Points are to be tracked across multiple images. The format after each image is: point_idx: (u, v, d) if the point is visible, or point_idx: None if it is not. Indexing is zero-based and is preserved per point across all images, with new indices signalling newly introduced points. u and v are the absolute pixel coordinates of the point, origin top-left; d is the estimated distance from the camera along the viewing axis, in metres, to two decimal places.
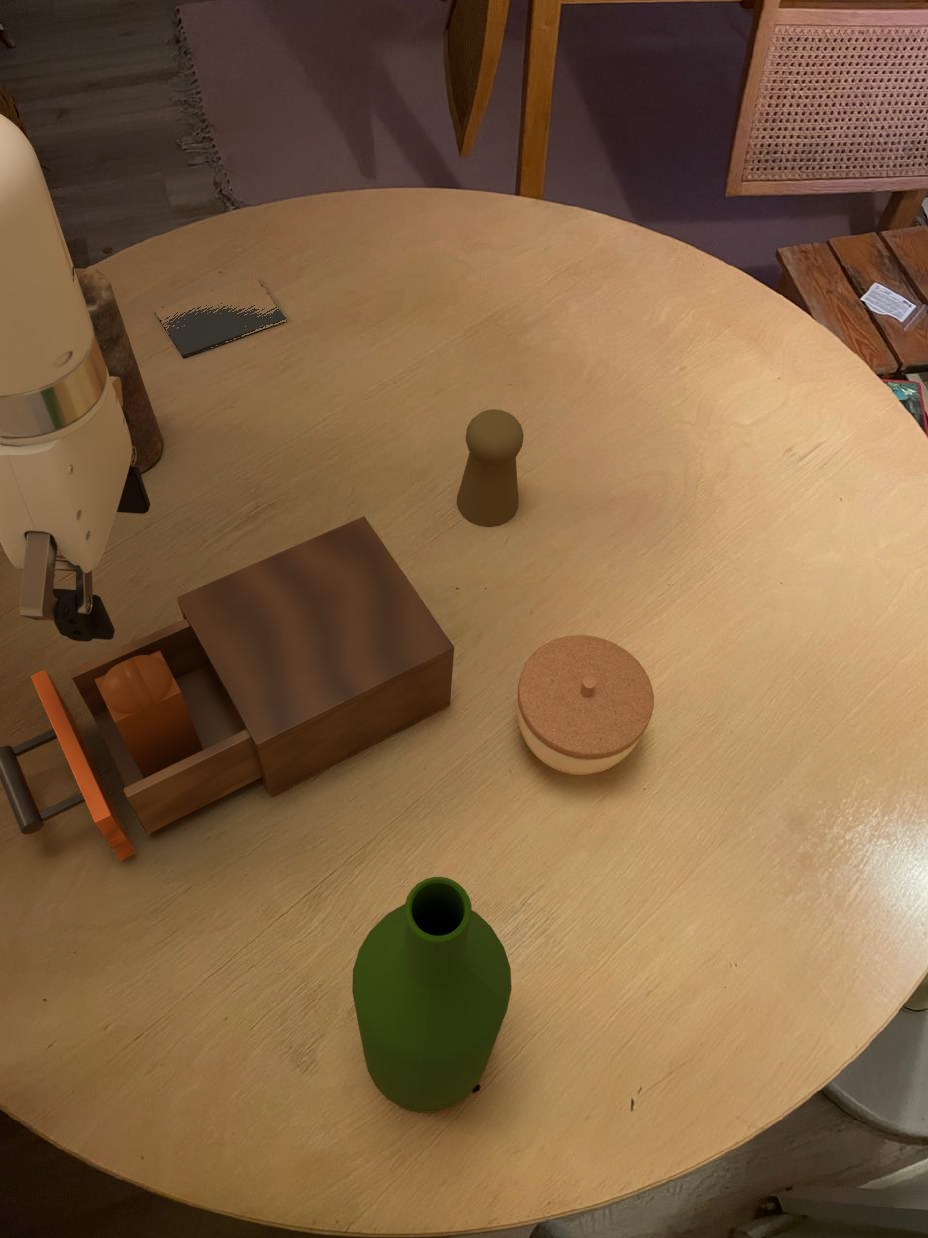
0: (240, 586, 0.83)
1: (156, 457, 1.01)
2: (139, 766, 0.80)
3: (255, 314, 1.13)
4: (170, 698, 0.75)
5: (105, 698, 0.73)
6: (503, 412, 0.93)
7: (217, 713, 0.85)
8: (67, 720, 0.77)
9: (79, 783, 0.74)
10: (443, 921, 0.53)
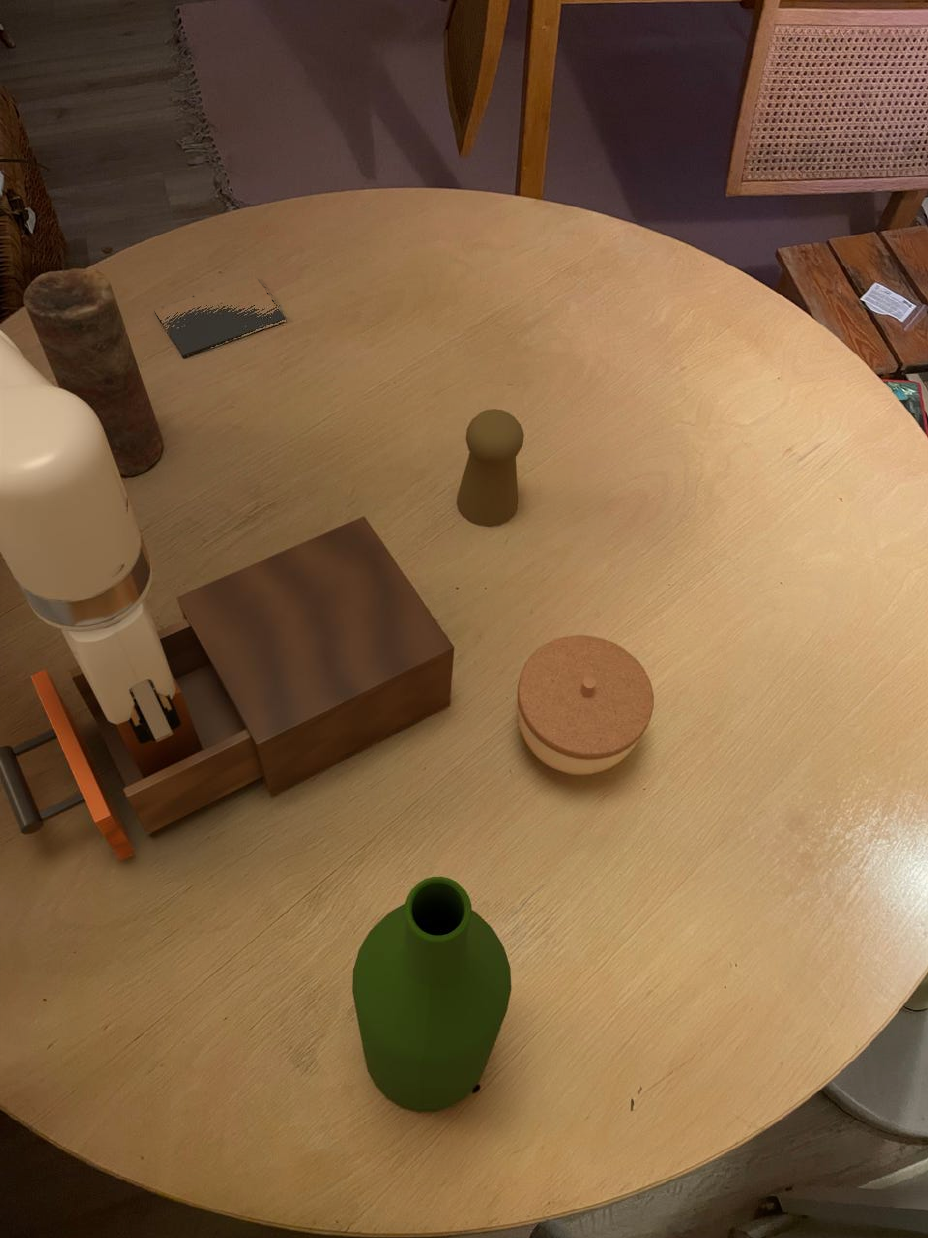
0: (240, 586, 0.83)
1: (156, 457, 1.01)
2: (139, 766, 0.80)
3: (255, 314, 1.13)
4: None
5: None
6: (503, 412, 0.93)
7: (217, 713, 0.85)
8: (67, 720, 0.77)
9: (79, 783, 0.74)
10: (443, 921, 0.53)
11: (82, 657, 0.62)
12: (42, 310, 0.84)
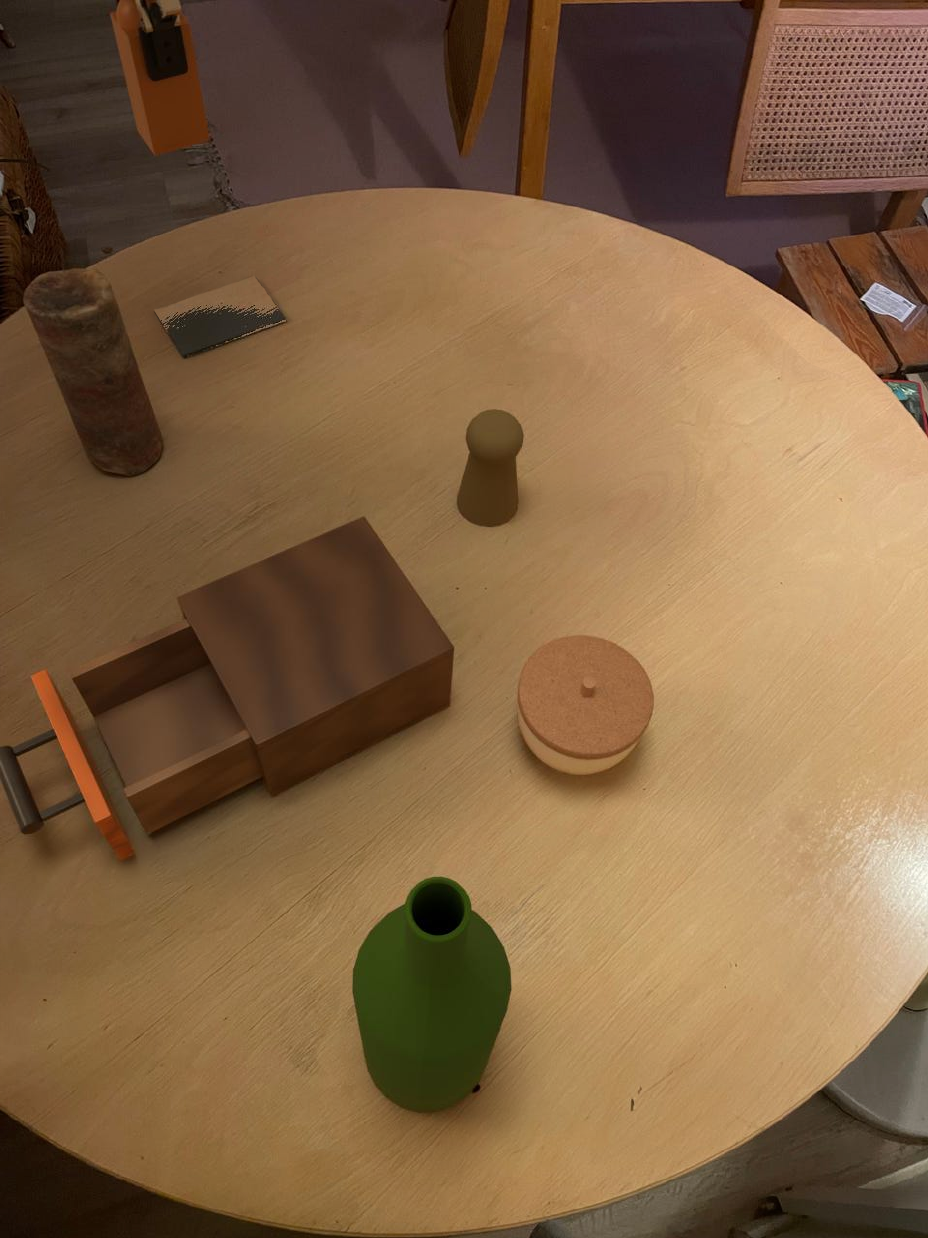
0: (240, 586, 0.83)
1: (156, 457, 1.01)
2: (150, 129, 0.86)
3: (255, 314, 1.13)
4: None
5: (119, 17, 0.80)
6: (503, 412, 0.93)
7: (217, 713, 0.85)
8: (67, 720, 0.77)
9: (79, 783, 0.74)
10: (443, 921, 0.53)
11: None
12: (42, 310, 0.84)
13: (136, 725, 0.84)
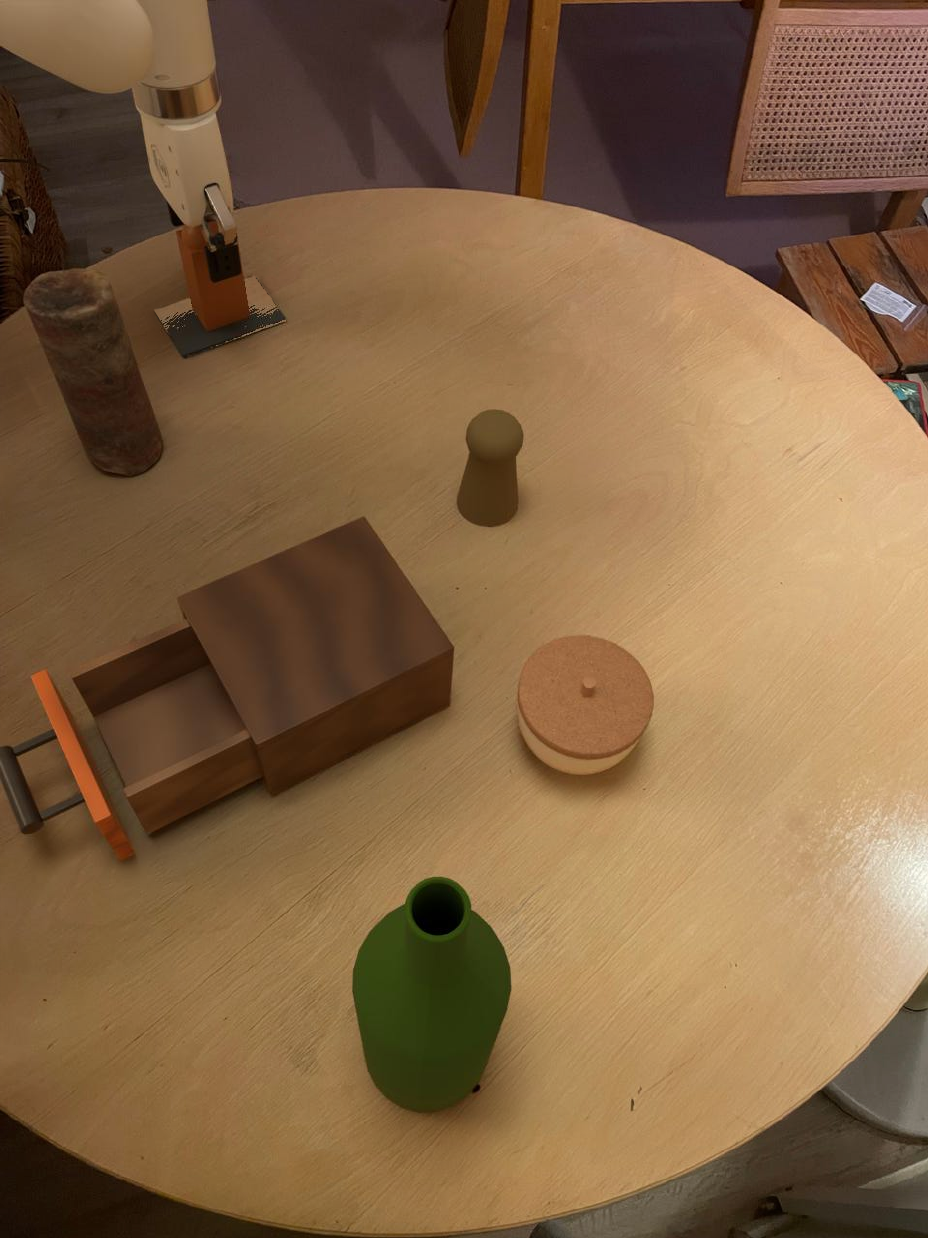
0: (240, 586, 0.83)
1: (156, 457, 1.01)
2: (204, 314, 1.09)
3: (255, 314, 1.13)
4: None
5: (184, 238, 1.03)
6: (503, 412, 0.93)
7: (217, 713, 0.85)
8: (67, 720, 0.77)
9: (79, 783, 0.74)
10: (443, 921, 0.53)
11: (174, 146, 0.91)
12: (42, 310, 0.84)
13: (136, 725, 0.84)
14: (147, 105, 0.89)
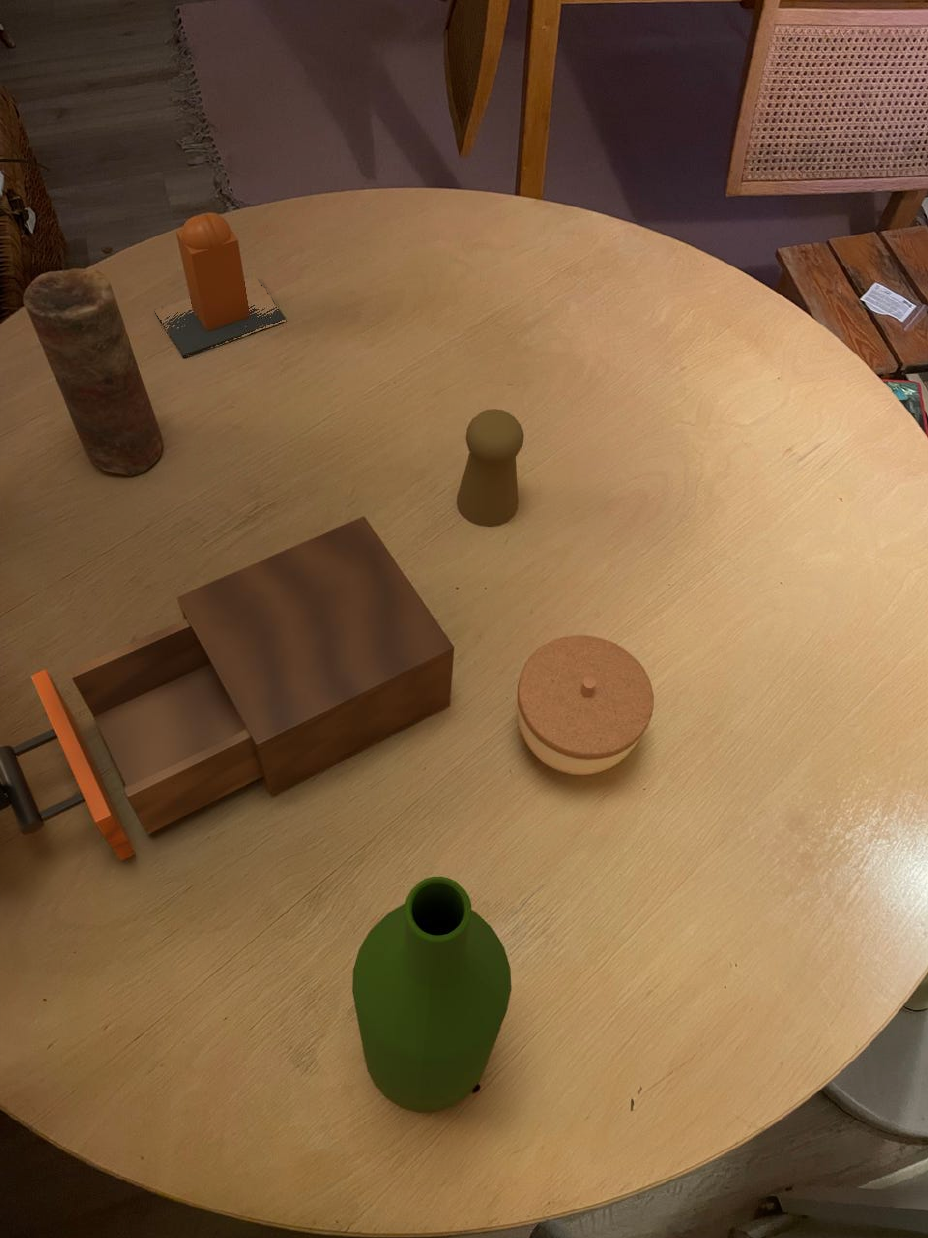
0: (240, 586, 0.83)
1: (156, 457, 1.01)
2: (204, 314, 1.09)
3: (255, 314, 1.13)
4: (230, 244, 1.04)
5: (184, 238, 1.03)
6: (503, 412, 0.93)
7: (217, 713, 0.85)
8: (67, 720, 0.77)
9: (79, 783, 0.74)
10: (443, 921, 0.53)
11: None
12: (42, 310, 0.84)
13: (136, 725, 0.84)
14: None
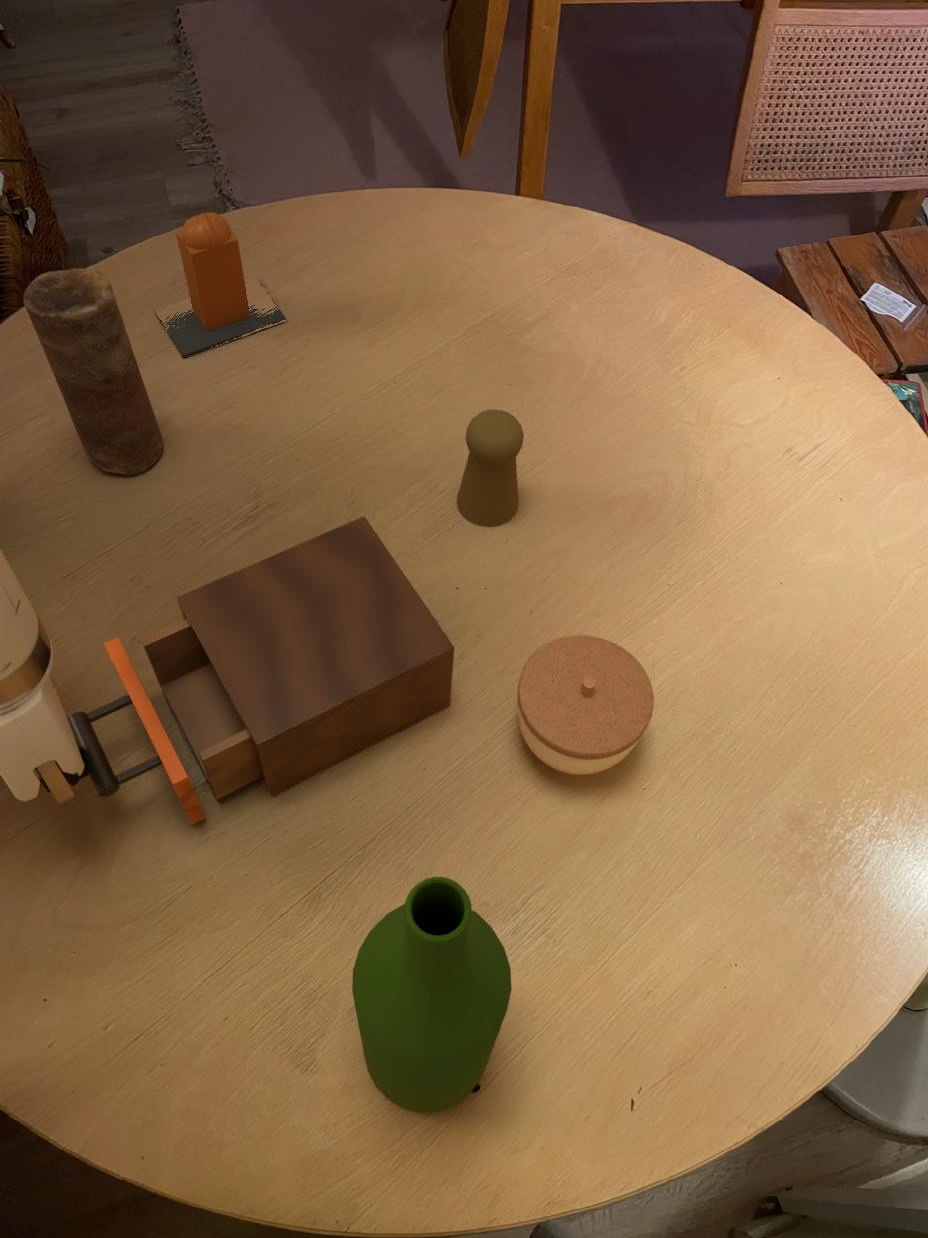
0: (240, 586, 0.83)
1: (156, 457, 1.01)
2: (204, 314, 1.09)
3: (255, 314, 1.13)
4: (230, 244, 1.04)
5: (184, 238, 1.03)
6: (503, 412, 0.93)
7: None
8: (141, 686, 0.79)
9: (156, 746, 0.76)
10: (443, 921, 0.53)
11: None
12: (42, 310, 0.84)
13: (203, 694, 0.86)
14: None
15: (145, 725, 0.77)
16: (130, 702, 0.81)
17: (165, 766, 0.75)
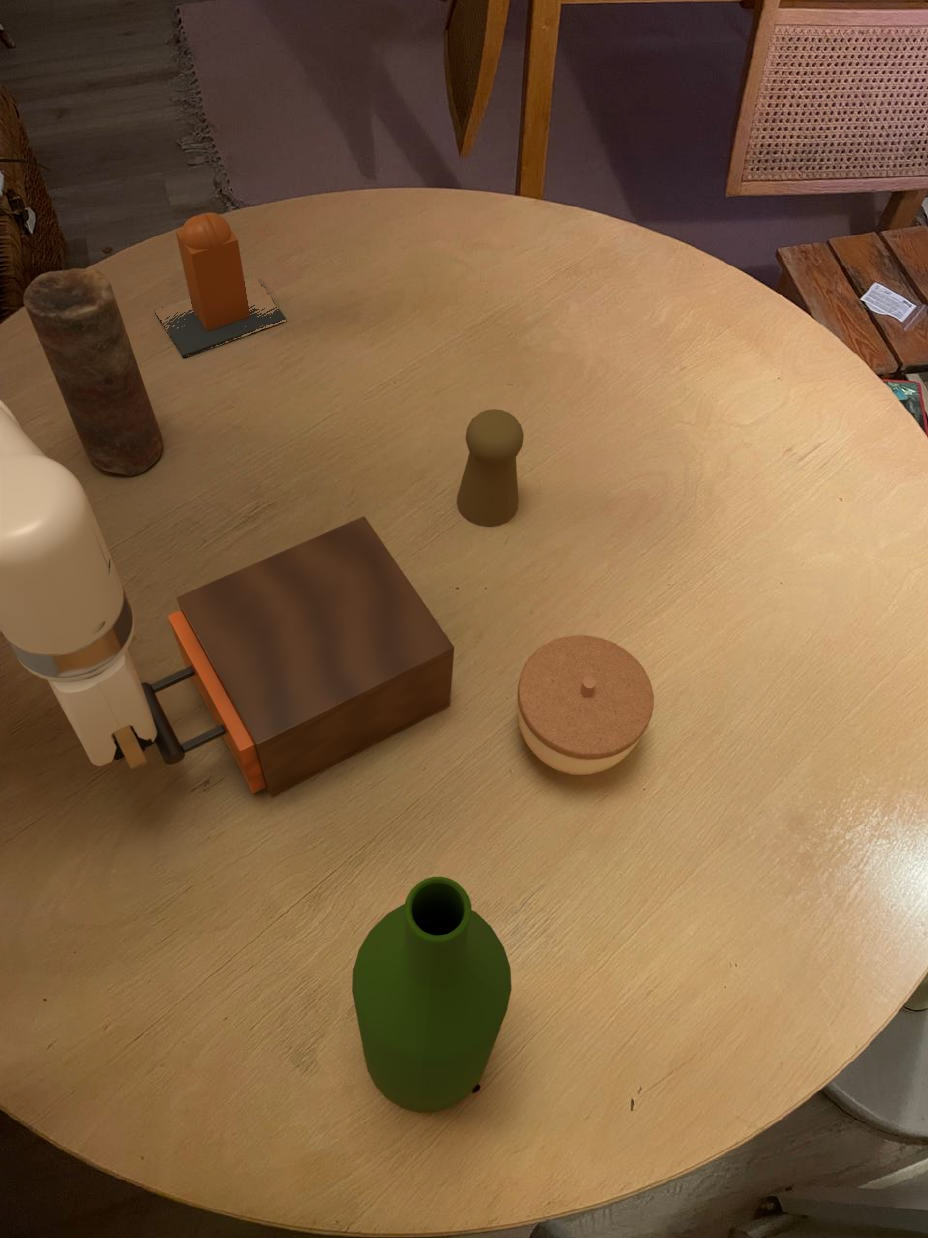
0: (240, 586, 0.83)
1: (156, 457, 1.01)
2: (204, 314, 1.09)
3: (255, 314, 1.13)
4: (230, 244, 1.04)
5: (184, 238, 1.03)
6: (503, 412, 0.93)
7: None
8: (206, 657, 0.80)
9: (222, 715, 0.78)
10: (443, 921, 0.53)
11: (65, 706, 0.65)
12: (42, 310, 0.84)
13: None
14: (25, 661, 0.63)
15: (210, 694, 0.78)
16: (192, 673, 0.83)
17: (231, 734, 0.77)
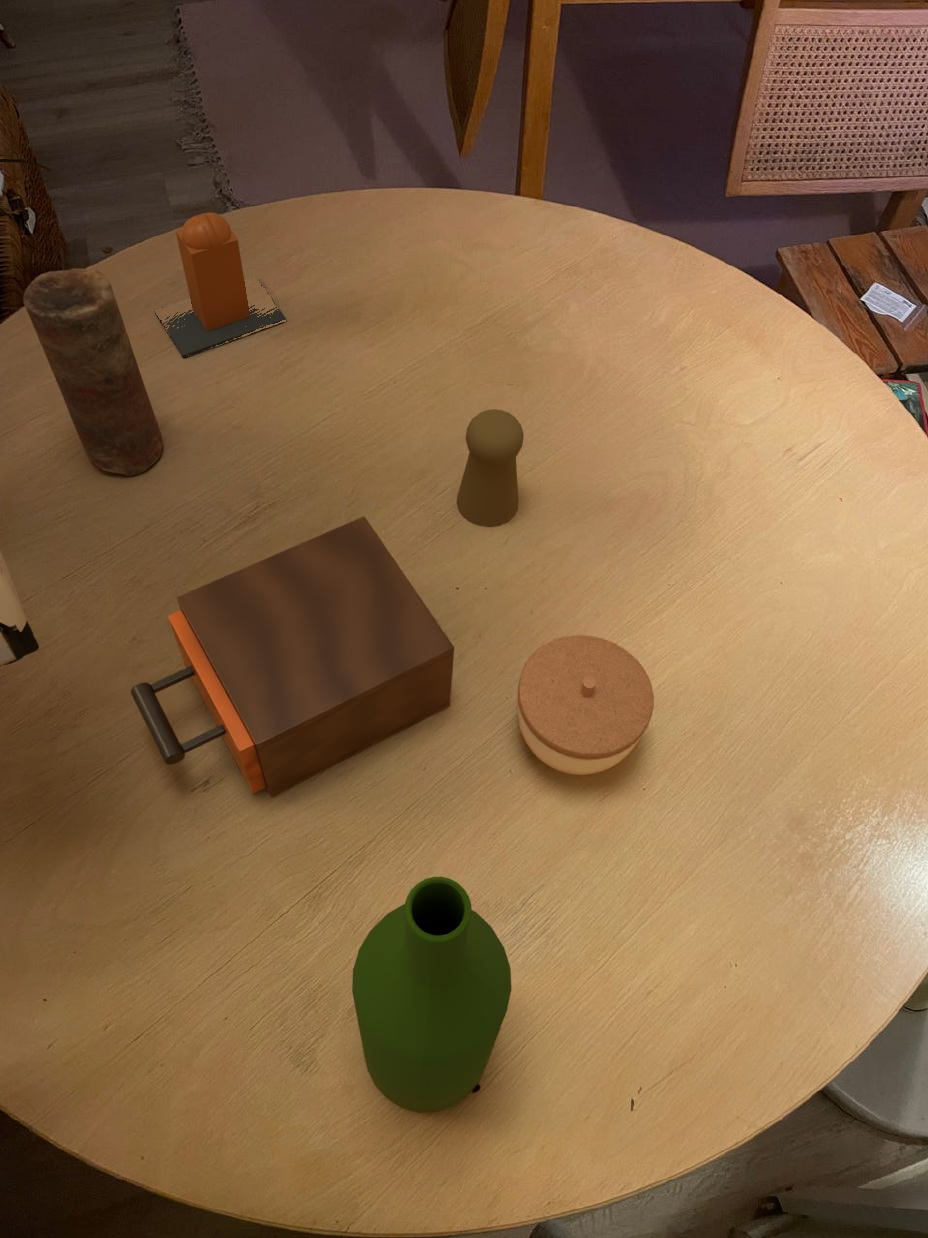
0: (240, 586, 0.83)
1: (156, 457, 1.01)
2: (204, 314, 1.09)
3: (255, 314, 1.13)
4: (230, 244, 1.04)
5: (184, 238, 1.03)
6: (503, 412, 0.93)
7: None
8: (206, 657, 0.80)
9: (222, 715, 0.78)
10: (443, 921, 0.53)
11: None
12: (42, 310, 0.84)
13: None
14: None
15: (210, 694, 0.78)
16: (192, 673, 0.83)
17: (231, 734, 0.77)
